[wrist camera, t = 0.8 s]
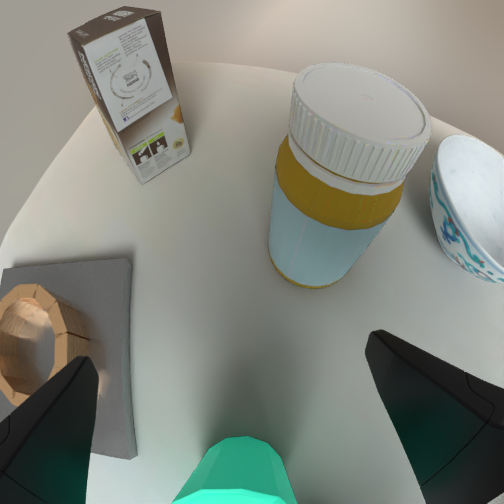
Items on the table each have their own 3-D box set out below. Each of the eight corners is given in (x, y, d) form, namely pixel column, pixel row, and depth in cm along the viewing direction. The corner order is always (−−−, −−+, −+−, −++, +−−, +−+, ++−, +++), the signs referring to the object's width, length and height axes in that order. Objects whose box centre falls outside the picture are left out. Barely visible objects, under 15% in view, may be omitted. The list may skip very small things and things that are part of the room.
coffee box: (194, 153, 28) (165, 9, 13) (142, 186, 26) (80, 45, 12) (156, 117, 31) (125, 4, 16) (111, 144, 29) (63, 33, 15)
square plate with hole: (137, 455, 16) (112, 469, 12) (6, 419, 16) (-24, 419, 11) (132, 264, 23) (110, 240, 19) (11, 273, 22) (-14, 257, 18)
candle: (250, 513, 14) (246, 610, 3) (185, 472, 16) (121, 548, 5) (300, 462, 16) (348, 540, 5) (234, 420, 18) (209, 473, 7)
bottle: (252, 265, 23) (250, 104, 9) (290, 202, 25) (317, 46, 12) (330, 306, 21) (436, 188, 8) (360, 236, 24) (441, 100, 10)
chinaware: (472, 338, 19) (529, 317, 12) (374, 224, 24) (409, 171, 17) (512, 247, 23) (550, 217, 16) (436, 162, 28) (463, 118, 21)
